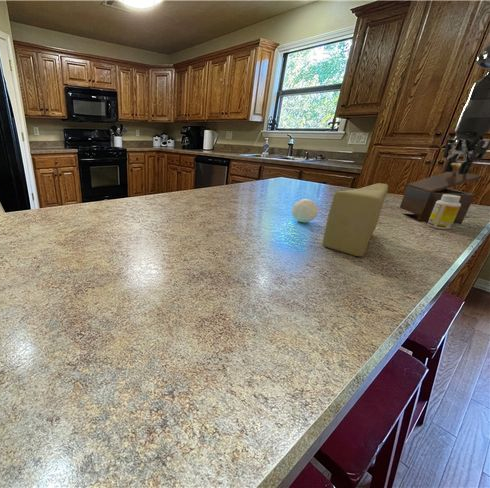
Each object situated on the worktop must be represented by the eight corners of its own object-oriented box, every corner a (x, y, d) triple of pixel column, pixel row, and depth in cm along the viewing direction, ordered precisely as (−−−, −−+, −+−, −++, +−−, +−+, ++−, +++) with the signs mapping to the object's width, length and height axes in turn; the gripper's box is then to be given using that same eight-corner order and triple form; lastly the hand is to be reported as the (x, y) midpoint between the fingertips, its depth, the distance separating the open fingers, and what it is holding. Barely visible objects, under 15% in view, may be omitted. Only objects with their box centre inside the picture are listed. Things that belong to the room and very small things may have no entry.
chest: (435, 213, 100) (446, 187, 96) (461, 223, 89) (475, 194, 85) (397, 212, 102) (407, 186, 98) (418, 221, 91) (430, 193, 87)
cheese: (351, 228, 84) (365, 180, 78) (388, 238, 77) (408, 185, 71) (319, 245, 71) (333, 189, 65) (361, 258, 64) (382, 197, 58)
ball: (294, 229, 90) (282, 209, 89) (306, 217, 94) (295, 198, 93) (315, 225, 84) (302, 203, 83) (327, 211, 87) (315, 191, 86)
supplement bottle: (454, 228, 85) (469, 197, 80) (443, 230, 83) (458, 198, 79) (432, 223, 89) (445, 193, 85) (422, 225, 88) (435, 194, 84)
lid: (452, 172, 94) (451, 158, 92) (482, 177, 83) (482, 162, 82) (407, 186, 98) (406, 172, 96) (431, 192, 87) (429, 178, 86)
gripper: (515, 115, 75) (488, 176, 82) (471, 117, 88) (450, 170, 95) (484, 115, 76) (459, 176, 83) (445, 117, 89) (426, 169, 96)
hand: (454, 172), depth 89 cm, fingers closed on lid, 5 cm apart
